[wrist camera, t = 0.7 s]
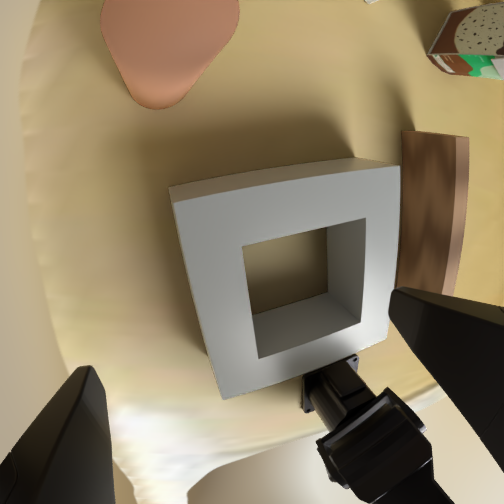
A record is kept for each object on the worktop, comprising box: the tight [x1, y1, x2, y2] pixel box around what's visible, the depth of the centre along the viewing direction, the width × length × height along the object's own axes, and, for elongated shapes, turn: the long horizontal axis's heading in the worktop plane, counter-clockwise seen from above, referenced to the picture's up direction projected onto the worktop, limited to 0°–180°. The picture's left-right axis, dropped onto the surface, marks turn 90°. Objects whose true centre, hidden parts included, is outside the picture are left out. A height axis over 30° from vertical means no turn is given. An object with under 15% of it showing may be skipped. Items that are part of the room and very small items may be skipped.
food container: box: [426, 2, 504, 80], centre depth 17 cm, size 12×6×10 cm, turn 144°
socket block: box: [168, 157, 400, 400], centre depth 21 cm, size 14×14×5 cm
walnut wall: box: [396, 131, 469, 296], centre depth 24 cm, size 18×2×6 cm, turn 7°
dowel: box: [100, 0, 240, 109], centre depth 11 cm, size 4×4×11 cm
